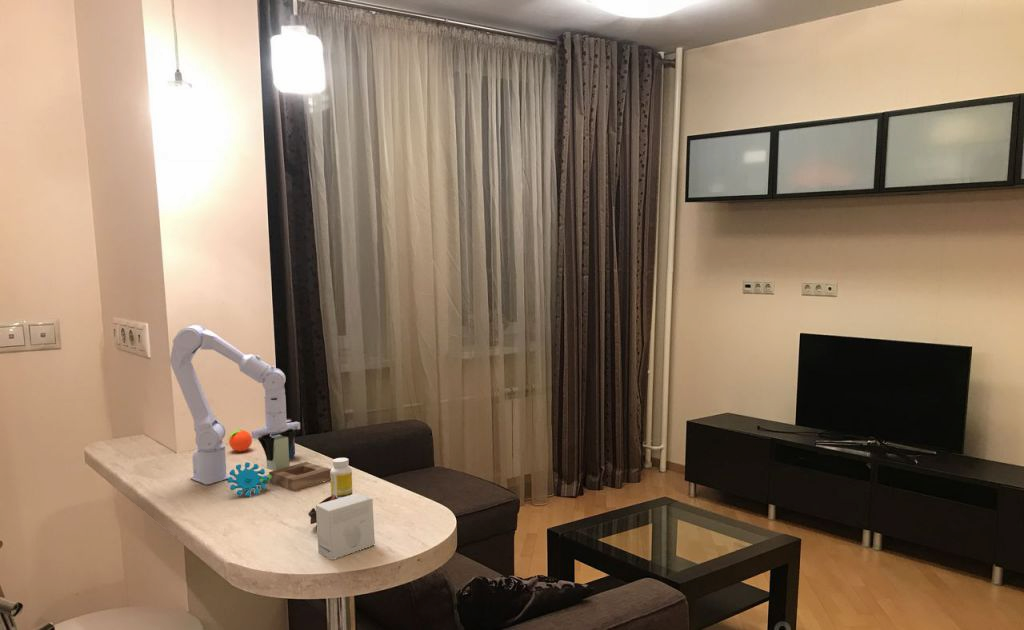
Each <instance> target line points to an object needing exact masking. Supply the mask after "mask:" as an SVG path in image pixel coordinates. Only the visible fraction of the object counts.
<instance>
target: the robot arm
mask: <svg viewBox="0 0 1024 630" xmlns="http://www.w3.org/2000/svg"><path fill="white" fill-rule="evenodd" d="M199 349H200V350H204V351H205V350H206V351H207V350H210V351H212V350H213V351H215V352H216V353H218V354H219V355H222V356H223V357H225V358H227V359H228V360H231V361H232V362H234V363H235V364H237V365H238V367H239V372H241V373H243V374H245V375H246V376H248V377H249V378H250V379H252V380H254V381H256V382H257V383H259V384H262V388H263V389H264V394H265V396H264V411H265V412H264V413H265V418H264V419H265V426H264V427H262V428H258V429H256V430H255V429H254V430H252V431H251V437H252V439H254V440H258V441H259V443H260V445H261V447H262V449H263V452H264V455H265V457H266V458H267V460H269V461H272V460H273V444H274V438H272V437H271V435H272V434H277V433H279V434H280V435H282V436H286V437H288V446H289V451H290V447H291V443H292V441H293V439H294V440H295V437H296V436H297V435H296V434H297V433H296V431H295V430H301V422H298V421H293V422H292V423H287V420H286V419H287V401H286V400H287V399H286V397H287V396H286V389H285V383H286V378H287V377H286V375H285V373H284V372H283V371H282V370H281V369H280V368H276V366H274V365H273V364H272V365H270V364H269V363H267V362H265V361H264V360H262V359H261V355H259V354H256V355H254V354H252V353H250V354H245V353H243V352H242V351H240V350H239V349H238V348H236V347H235V346H234V345H232V344H230V342H228V341H226V340H224V339H223V338H222V337H220V336H219V335H217V334H216V333H215V332H213V331H212V330H209V329H206V328H205V327H204V326H203V325H199V324H192V325H189V326H187V327H184V328H181V329H179V331H178V332H177V334H176V335H175V337H174V338H173V339H172V348H171V353H170V358H169V363H170V366H171V369H172V371H173V373H174V375H175V378H176V380H177V383H178V385H179V388H180V390H181V393H182V395H183V397H184V400H185V402H186V405H187V407H188V409H189V412H190V414H191V417H192V419H193V429H194V433H195V444H196V446H197V448H196V449H195V450H194V452H193V454H192V469H193V470H192V471H193V473H192V476H190V480H194V481H196V482H198V483H201V484H204V485H210V484H213V483H219V482H221V481H225V480H228V478H229V477H232V478H233V477H234V476H232V475H230V474H229V473H227V462H226V460H227V458H226V457H227V456H226V444H225V443H224V441H223V439H224V438H225V437H226V428H225V427H224V425H223V424H222V423H220V421H219V419H218V418H217V416H216V415H215V414H214V412H212V409H211V407H210V404H209V402H208V400H207V396H206V395H205V392H204V390H203V387H202V385H201V382H200V379H199V378H198V375H197V372H196V370H195V368H194V365H193V362H192V361H193V358H194V356H195V355H196V353H197V351H198V350H199ZM293 430H294V431H293ZM267 460H266V461H267ZM233 479H234V478H233Z"/></svg>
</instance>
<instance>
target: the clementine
mask: <svg viewBox="0 0 1024 630" xmlns="http://www.w3.org/2000/svg"><path fill="white" fill-rule="evenodd" d="M227 440H228V443H229V446H230V448H231V449H232V450H234V452H240V453H241V452H244V451H246V450H249V448H250V447H251V446H252V443H253V442H252V441H253V438H252V434H251V433H249V431H247V430H246V429H239V430H236V431H233V432H231V433H230V435H229V437H228V439H227Z"/></svg>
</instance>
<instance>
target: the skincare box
mask: <svg viewBox="0 0 1024 630" xmlns="http://www.w3.org/2000/svg"><path fill="white" fill-rule="evenodd" d="M373 505H374V503H373V498H372V497H370V496H368V495H364V494H363V493H359V492H357V493H352V495H349V496H346V497H342V498H339V499H335V500H331V501H328V502H324V503H321V504H319V503H317V504H315V511H316V518H317V523H316V529H317V530H316V532H317V549H318V551H317V552H318V553H319V552H320V554H321V555H323V556H324V557H326V558H328V559H329V558H330V560H331V559H332V560H331V561H334V560H333V559H335V558H337V559H339V558H338V557H340V558H342V557H341V556H343V557H345V556H344V555H346V556H348V555H347V554H349V555H351V554H350V553H352V554H354V553H356V552H355V551H357V552H359V551H358V550H360V549H363V548H366V547H369V546H372V545H374V544H375V545H376V539H375V523H374V522H375V520H374V507H373ZM372 547H373V546H372ZM369 548H370V547H369ZM366 549H367V548H366ZM363 550H364V549H363ZM360 551H361V550H360ZM353 552H354V553H353ZM335 560H336V559H335Z"/></svg>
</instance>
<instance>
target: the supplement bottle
mask: <svg viewBox="0 0 1024 630" xmlns="http://www.w3.org/2000/svg"><path fill="white" fill-rule="evenodd" d="M349 461H350V460H349V458H347V457H337V458H334V459H332V466H333V467H332V468H330V469H331V471H330V475H331V480H330V496H332V495H336V497H337V499H339V498H342V497H343V496H345V495H348V494H349V495H353V473H352V472H353V471H352V468H351V467H350V466H349Z"/></svg>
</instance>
